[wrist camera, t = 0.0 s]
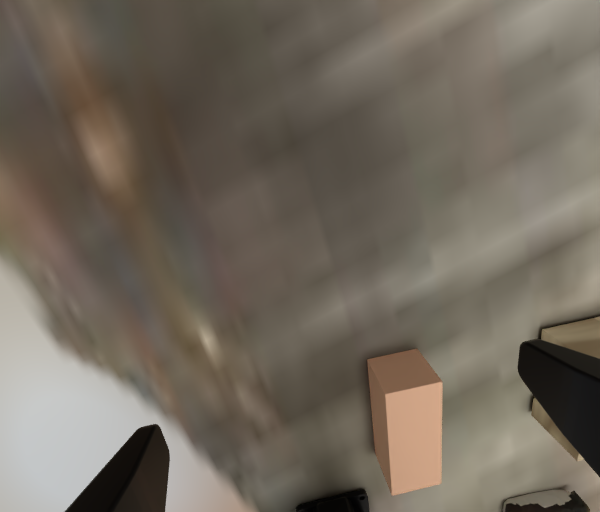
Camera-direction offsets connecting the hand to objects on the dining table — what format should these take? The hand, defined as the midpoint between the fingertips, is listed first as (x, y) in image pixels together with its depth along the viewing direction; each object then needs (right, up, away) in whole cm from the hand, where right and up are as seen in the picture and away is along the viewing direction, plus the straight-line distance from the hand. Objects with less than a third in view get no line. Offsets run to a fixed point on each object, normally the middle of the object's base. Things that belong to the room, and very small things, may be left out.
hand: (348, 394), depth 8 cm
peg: (+7, -9, +20) cm, 23 cm away
